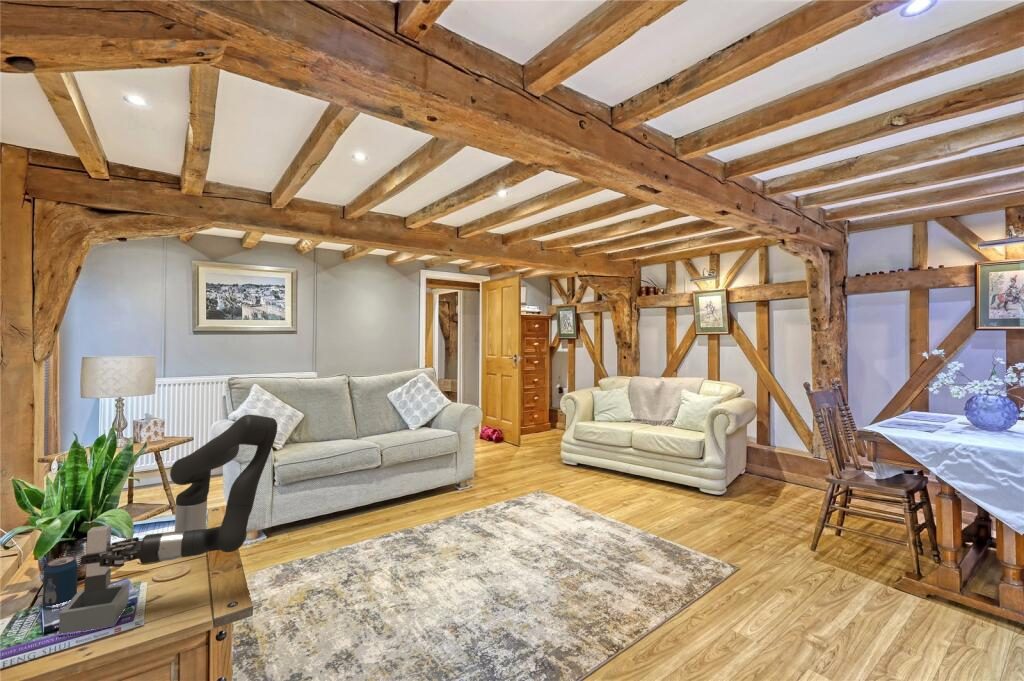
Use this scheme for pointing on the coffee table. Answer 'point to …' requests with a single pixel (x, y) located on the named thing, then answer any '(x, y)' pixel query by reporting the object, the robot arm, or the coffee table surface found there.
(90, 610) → the gray open tray
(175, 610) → the coffee table surface
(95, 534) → the two-tone gray pillar
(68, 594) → the soda can
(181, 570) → the coffee table surface
